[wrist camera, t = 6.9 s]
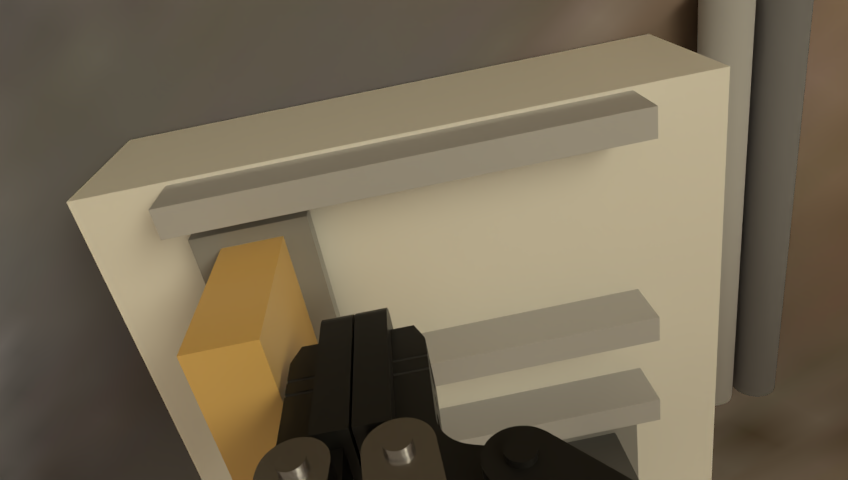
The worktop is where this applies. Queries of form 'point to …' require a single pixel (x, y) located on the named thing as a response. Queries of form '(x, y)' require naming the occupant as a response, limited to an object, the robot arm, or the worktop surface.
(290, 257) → the breaker toggle
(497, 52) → the worktop surface
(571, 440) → the toggle
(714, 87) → the breaker housing
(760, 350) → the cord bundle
